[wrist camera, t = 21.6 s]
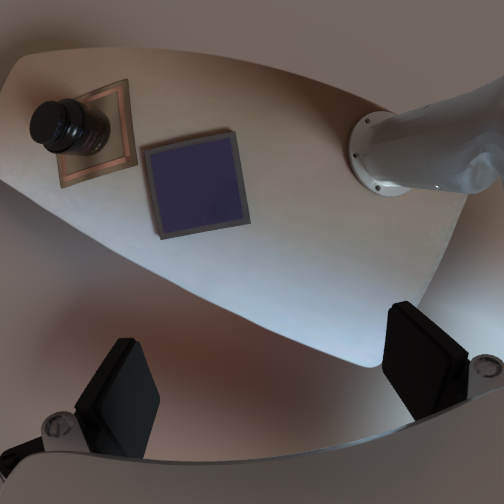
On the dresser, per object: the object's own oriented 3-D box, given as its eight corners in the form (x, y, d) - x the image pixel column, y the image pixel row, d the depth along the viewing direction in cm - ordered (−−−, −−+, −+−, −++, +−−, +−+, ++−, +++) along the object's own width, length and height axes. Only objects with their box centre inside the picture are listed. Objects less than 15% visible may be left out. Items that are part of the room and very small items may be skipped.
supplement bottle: (65, 135, 33) (15, 125, 21) (97, 101, 32) (52, 78, 20) (87, 167, 34) (38, 165, 23) (121, 133, 33) (78, 116, 22)
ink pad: (235, 133, 35) (235, 130, 34) (250, 222, 38) (250, 223, 36) (146, 151, 35) (143, 150, 33) (162, 238, 38) (160, 240, 36)
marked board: (128, 80, 32) (126, 78, 31) (138, 165, 35) (136, 164, 35) (55, 109, 32) (53, 108, 31) (62, 188, 35) (60, 188, 34)
